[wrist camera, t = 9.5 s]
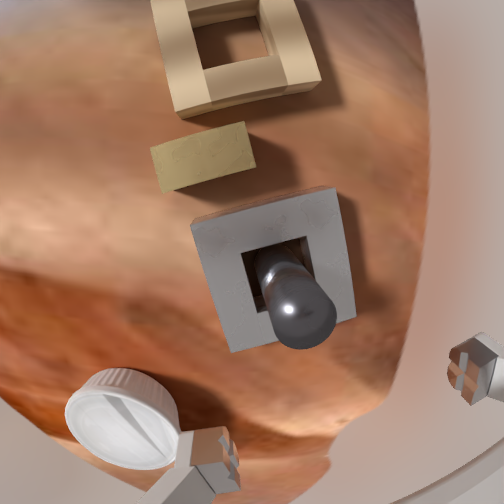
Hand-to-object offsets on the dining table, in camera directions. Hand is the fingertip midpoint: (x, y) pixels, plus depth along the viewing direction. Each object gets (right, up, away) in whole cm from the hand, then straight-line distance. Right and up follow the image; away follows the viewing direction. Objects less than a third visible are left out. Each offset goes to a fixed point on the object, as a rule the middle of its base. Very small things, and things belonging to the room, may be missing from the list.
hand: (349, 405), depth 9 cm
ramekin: (-15, -10, +18) cm, 26 cm away
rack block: (-5, +21, +11) cm, 24 cm away
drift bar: (-7, +12, +13) cm, 19 cm away
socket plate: (-1, +4, +15) cm, 16 cm away
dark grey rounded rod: (-1, +4, +15) cm, 16 cm away
